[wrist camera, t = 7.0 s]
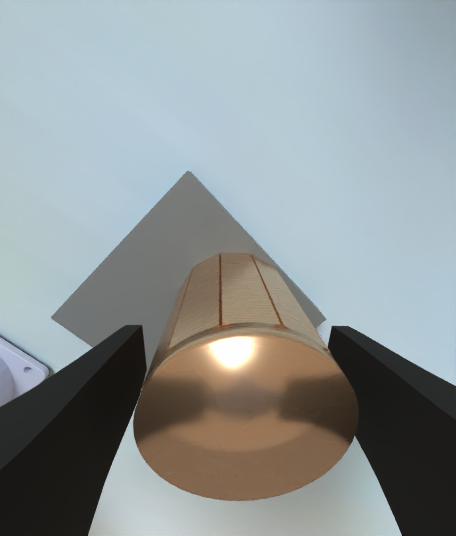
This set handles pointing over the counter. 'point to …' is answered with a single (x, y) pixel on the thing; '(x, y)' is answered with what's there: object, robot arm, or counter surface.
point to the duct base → (161, 268)
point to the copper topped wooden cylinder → (242, 388)
